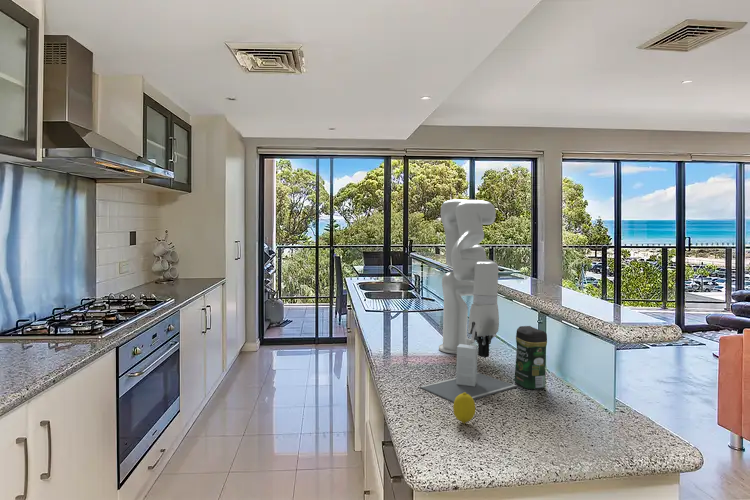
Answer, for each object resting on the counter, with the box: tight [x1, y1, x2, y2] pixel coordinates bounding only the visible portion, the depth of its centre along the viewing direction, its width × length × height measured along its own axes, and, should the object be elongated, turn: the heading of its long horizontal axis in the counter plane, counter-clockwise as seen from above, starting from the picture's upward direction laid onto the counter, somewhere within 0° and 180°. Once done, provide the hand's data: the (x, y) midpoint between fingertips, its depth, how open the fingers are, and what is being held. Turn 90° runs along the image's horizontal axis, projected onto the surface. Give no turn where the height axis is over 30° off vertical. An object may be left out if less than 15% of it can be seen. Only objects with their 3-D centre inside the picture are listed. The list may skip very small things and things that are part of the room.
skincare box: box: [455, 344, 478, 387], centre depth 151 cm, size 6×4×12 cm
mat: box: [419, 371, 518, 404], centre depth 149 cm, size 26×16×1 cm, turn 126°
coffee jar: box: [513, 325, 548, 391], centre depth 152 cm, size 10×8×19 cm
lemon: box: [452, 392, 476, 424], centre depth 122 cm, size 6×6×8 cm
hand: (483, 356), depth 155 cm, fingers closed
